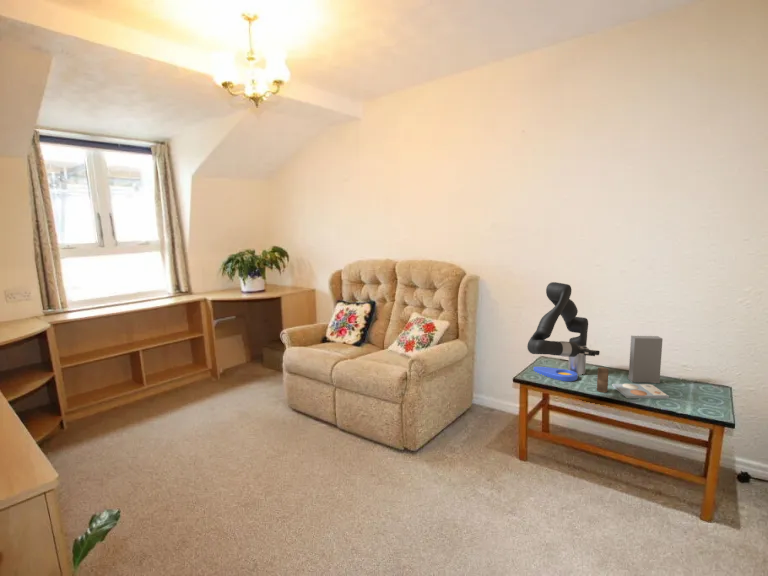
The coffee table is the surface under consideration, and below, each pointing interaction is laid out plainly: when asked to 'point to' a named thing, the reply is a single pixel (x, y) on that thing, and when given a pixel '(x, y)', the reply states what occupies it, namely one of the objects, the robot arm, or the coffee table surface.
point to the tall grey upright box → (645, 359)
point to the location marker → (557, 373)
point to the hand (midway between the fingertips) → (592, 351)
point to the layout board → (639, 391)
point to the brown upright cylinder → (602, 379)
